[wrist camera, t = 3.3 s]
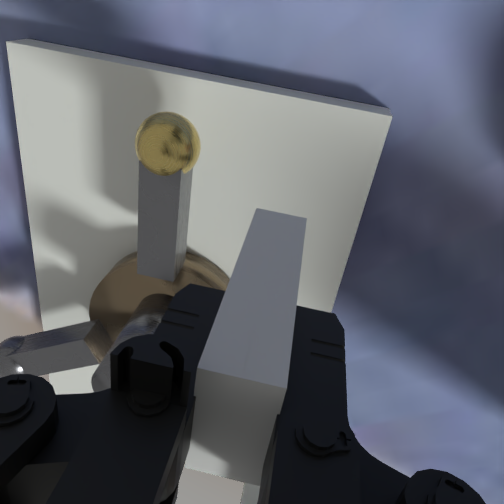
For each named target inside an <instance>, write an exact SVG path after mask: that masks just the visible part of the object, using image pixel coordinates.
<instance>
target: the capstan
mask: <svg viewBox="0 0 504 504" xmlns="http://www.w3.org/2000/svg"><path fill="white" fill-rule="evenodd" d="M200 150H201V143H200V138H199V134H198V132H197V130H196V128H195V127H194V125H193V124H192V123H191V122H190V121H189V120H188V119H187V118H185V117H184V116H182V115H180V114H177V113H174V112H158V113H155V114H153V115H151V116H149V117H148V118H146V119H145V120H144V121H143V122H142V123H141V125H140V126H139V128H138V130H137V133H136V136H135V151H136V154H137V157H138V159H139V183H138V242H137V251H136V252H133V253H131V254H129V255H127V256H125V257H123V258H122V259H121V260H120V261H118V262H117V263H116V264H115V265H114V267H113V268H112V269H111V270H110V271H109V272H108V274H107V275H106V276H105V277H104V278H103V279H102V281H101V282H100V283H99V284H98V285H97V287H96V289H95V290H94V292H93V294H92V297H91V300H90V305H89V317H90V321H87V322H83V323H78V324H74V325H70V326H65V327H61V328H57V329H52V330H48V331H44V332H39V333H35V334H31V335H27V336H14V337H10V338H8V339H6V340H4V341H3V342H1V343H0V378H1V377H5V376H8V375H12V374H31V375H35V376H39V375H45V374H50V373H55V372H61V371H66V370H71V369H76V368H82V367H87V366H92V365H97V364H99V366H98V367H97V369H96V370H95V372H94V374H93V376H92V379H91V385H92V389H93V391H94V392H99V391H102V390H106V389H109V388H111V376H110V353H111V352H112V351H113V350H114V349H115V348H116V347H117V346H118V345H119V344H120V343H122V342H124V341H126V340H128V339H130V338H132V337H135V336H141V335H146V334H154V332H155V330H156V328H157V327H158V325H159V323H161V319H162V317H163V315H164V314H165V312H166V311H167V309H168V306H169V304H170V303H171V301H172V299H173V297H174V295H175V293H177V292H178V291H180V290H181V289H183V288H184V287H186V286H187V285H188V284H190V283H191V284H196V285H201V286H205V287H210V288H214V289H219V290H223V291H226V289H227V286H228V283H229V281H230V279H229V278H228V277H227V276H226V275H225V274H224V273H223V272H222V271H221V270H220V269H218V268H217V267H216V266H214V265H213V264H211V263H210V262H208V261H207V260H205V259H203V258H201V257H199V256H197V255H194V254H192V253H189V252H186V245H187V233H188V221H189V209H190V197H191V186H192V174H193V167H194V166H195V164H196V162H197V161H198V158H199V155H200Z"/></svg>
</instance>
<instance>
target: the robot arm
mask: <svg viewBox="0 0 504 504" xmlns="http://www.w3.org/2000/svg"><path fill="white" fill-rule="evenodd" d="M306 221H307V218H303V217H298V216H293V215H288V214H284V213H279V212H274V211H269V210H265V209H260V208H256V211H255V213H254V216H253V219H252V221H251V224H250V227H249V229H248V232H247V235H246V237H245V240H244V243H243V246H242V248H241V251H240V254H239V256H238V259H237V262H236V264H235V267H234V270H233V272H232V275H231V278H230V281H229V283H228V286H227V289H226V291H223V290H219V289H214V288H210V287H205V286H201V285H196V284H191V283H190V284H188V285H187V286H186V287H184V288H183V289H181V290H180V291H178V292H177V293H175V295H174V297H173V299H172V301H171V303H170V304H169V306H168V309H167V311H166V312H165V314H164V315H163V317H162V319H161V323H159V325H158V327H157V328H156V330H155V332H154V334H146V335H141V336H135V337H132V338H130V339H128V340H126V341H124V342H122V343H120V344H119V345H118V346H117V347H116V348H115V349H114V350H113V351H112V352H111V353H110V376H111V388H109V389H106V390H102V391H99V392H92V393H81V394H58V395H56V394H55V391H54V388H53V386H52V385H51V384H50V383H49V382H47V381H46V380H45V379H44V378H42V377H38V376H35V375H31V374H12V375H8V376H5V377H1V378H0V504H175V502H176V499H177V492H178V483H179V479H180V476H181V473H182V470H183V467H184V464H185V468H188V469H193V470H196V471H200V472H204V473H208V474H212V475H216V476H221V477H225V478H229V479H233V480H237V481H241V482H245V483H249V484H253V485H257V486H260V490H259V497H258V502H257V504H486V503H485V502H484V501H483V499H482V498H481V496H480V495H479V494H478V493H477V492H476V491H475V490H473V489H472V488H471V487H470V486H469V485H468V484H467V483H466V482H464V481H463V480H461V479H459V478H457V477H455V476H454V475H452V474H450V473H448V472H444V471H440V470H435V469H427V470H422V471H417V472H416V473H415V474H414V475H413V476H412V477H411V478H409V477H408V476H406V475H404V474H402V473H400V472H398V471H397V470H395V469H393V468H391V467H389V466H388V465H386V464H384V463H382V462H381V461H379V460H378V459H376V458H375V457H373V456H372V455H370V454H369V453H368V452H367V451H366V450H365V449H364V448H363V447H362V446H361V445H360V444H359V442H358V441H357V439H356V438H355V435H354V433H353V431H352V430H351V428H350V426H349V422H348V416H347V390H346V364H345V349H344V347H345V337H344V328H343V327H342V325H341V323H340V322H339V320H338V318H337V316H336V315H335V314H334V313H329V312H325V311H320V310H316V309H311V308H307V307H302V306H298V305H297V298H298V289H299V281H300V272H301V264H302V255H303V247H304V238H305V230H306ZM185 460H186V462H185Z"/></svg>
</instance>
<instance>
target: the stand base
mask: <svg viewBox="0 0 504 504" xmlns="http://www.w3.org/2000/svg"><path fill="white" fill-rule="evenodd" d="M6 45H7V53H8V61H9V69H10V77H11V84H12V92H13V100H14V108H15V115H16V123H17V131H18V139H19V147H20V154H21V162H22V170H23V178H24V185H25V193H26V201H27V209H28V217H29V224H30V232H31V240H32V248H33V255H34V263H35V271H36V279H37V287H38V294H39V302H40V310H41V318H42V325H43V332H44V331H48V330H52V329H57V328H61V327H65V326H70V325H74V324H78V323H83V322H87V321H90V317H89V305H90V300H91V297H92V294H93V292H94V290H95V289H96V287H97V285H98V284H99V283H100V282H101V281H102V279H103V278H104V277H105V276H106V275H107V274H108V272H109V271H110V270H111V269H112V268H113V267H114V265H115V264H116V263H117V262H118V261H120V260H121V259H122V258H123V257H125V256H127V255H129V254H131V253H133V252H136V251H137V242H138V183H139V159H138V157H137V154H136V151H135V136H136V133H137V130H138V128H139V126H140V125H141V123H142V122H143V121H144V120H145V119H146V118H148V117H149V116H151V115H153V114H155V113H158V112H174V113H177V114H180V115H182V116H184V117H185V118H187V119H188V120H189V121H190V122H191V123H192V124H193V125H194V127H195V128H196V130H197V132H198V134H199V138H200V143H201V150H200V155H199V158H198V161H197V162H196V164H195V166H194V167H193V174H192V186H191V197H190V209H189V221H188V233H187V245H186V252H189V253H192V254H194V255H197V256H199V257H201V258H203V259H205V260H207V261H208V262H210V263H211V264H213V265H214V266H216V267H217V268H218V269H220V270H221V271H222V272H223V273H224V274H225V275H226V276H227V277H228V278H229V279H230V278H231V275H232V272H233V270H234V267H235V264H236V262H237V259H238V256H239V254H240V251H241V248H242V246H243V243H244V240H245V237H246V235H247V232H248V229H249V227H250V224H251V221H252V219H253V216H254V213H255V211H256V208H260V209H265V210H269V211H274V212H279V213H284V214H288V215H293V216H298V217H303V218H307V221H306V230H305V238H304V247H303V255H302V264H301V272H300V281H299V289H298V298H297V305H298V306H302V307H307V308H311V309H316V310H320V311H325V312H329V313H331V311H332V308H333V305H334V302H335V299H336V295H337V292H338V289H339V286H340V283H341V279H342V276H343V273H344V270H345V267H346V264H347V260H348V257H349V254H350V251H351V248H352V244H353V241H354V238H355V235H356V232H357V228H358V225H359V222H360V219H361V216H362V213H363V209H364V206H365V203H366V200H367V197H368V193H369V190H370V187H371V184H372V181H373V178H374V174H375V171H376V168H377V165H378V162H379V158H380V155H381V152H382V149H383V146H384V143H385V139H386V136H387V133H388V130H389V127H390V123H391V120H392V117H393V116H392V114H391V112H390V110H389V108H385V107H380V106H375V105H369V104H364V103H359V102H354V101H349V100H344V99H338V98H333V97H328V96H323V95H318V94H312V93H307V92H302V91H297V90H292V89H287V88H281V87H276V86H271V85H266V84H261V83H255V82H250V81H245V80H240V79H235V78H230V77H224V76H219V75H214V74H209V73H204V72H198V71H193V70H188V69H183V68H178V67H173V66H167V65H162V64H157V63H152V62H147V61H142V60H136V59H131V58H126V57H121V56H116V55H110V54H105V53H100V52H95V51H90V50H85V49H79V48H74V47H69V46H64V45H59V44H53V43H48V42H43V41H38V40H33V39H21V40H13V41H6ZM98 366H99V364H97V365H92V366H87V367H82V368H76V369H71V370H66V371H61V372H55V373H50V374H49V380H50V384H51V385H52V386H53V388H54V391H55V394H56V395H58V394H81V393H92V392H94V391H93V389H92V385H91V379H92V376H93V374H94V372H95V370H96V369H97V367H98ZM259 490H260V486H257V485H253V484H249V483H245V482H244V487H243V493H242V498H241V503H240V504H257V502H258V497H259Z"/></svg>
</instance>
